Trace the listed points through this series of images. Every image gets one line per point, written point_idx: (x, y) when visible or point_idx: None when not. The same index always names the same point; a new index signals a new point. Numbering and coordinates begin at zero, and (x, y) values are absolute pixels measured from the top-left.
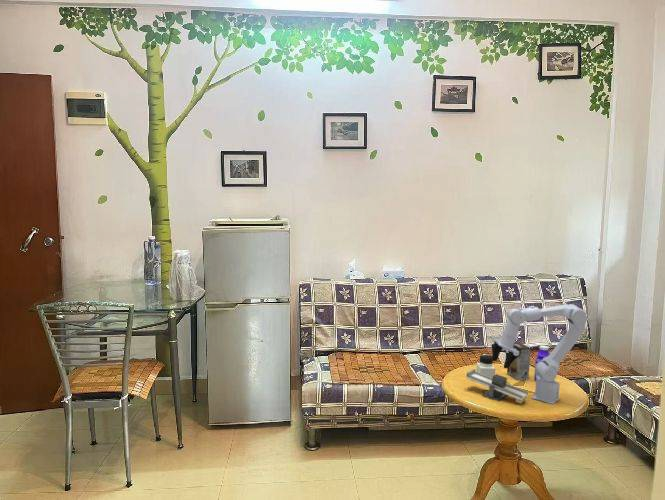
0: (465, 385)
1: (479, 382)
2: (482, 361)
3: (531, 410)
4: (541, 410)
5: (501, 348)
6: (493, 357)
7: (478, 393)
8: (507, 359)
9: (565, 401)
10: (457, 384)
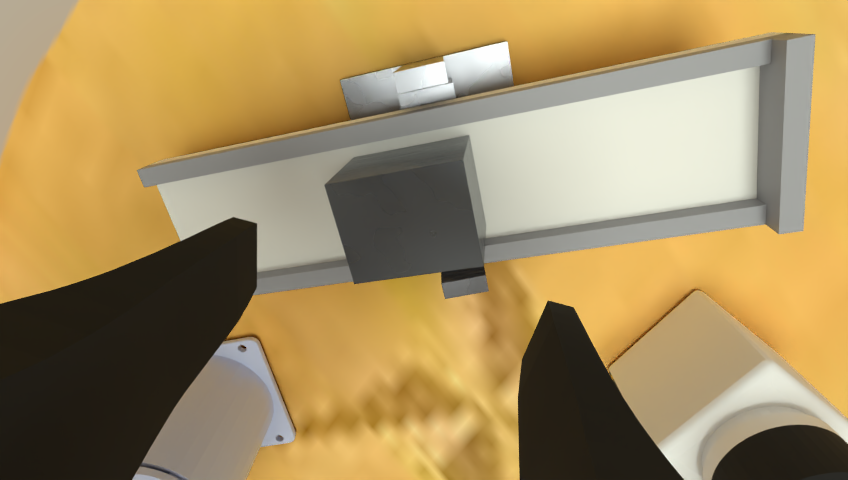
0: None
1: (589, 71)
2: (813, 440)
3: (92, 149)
4: (66, 213)
5: None
6: (555, 337)
7: (563, 65)
8: (46, 294)
9: None
10: (824, 73)
